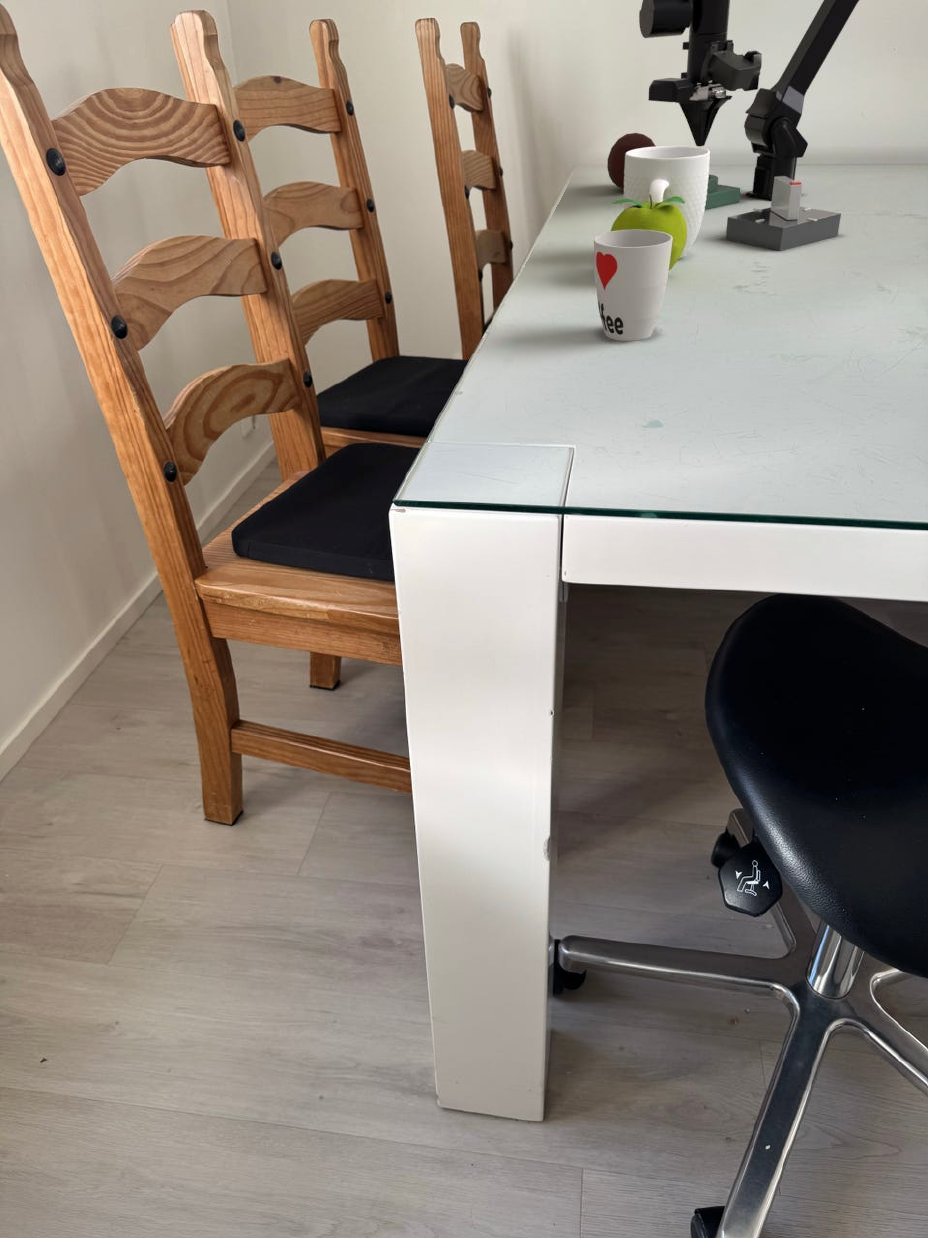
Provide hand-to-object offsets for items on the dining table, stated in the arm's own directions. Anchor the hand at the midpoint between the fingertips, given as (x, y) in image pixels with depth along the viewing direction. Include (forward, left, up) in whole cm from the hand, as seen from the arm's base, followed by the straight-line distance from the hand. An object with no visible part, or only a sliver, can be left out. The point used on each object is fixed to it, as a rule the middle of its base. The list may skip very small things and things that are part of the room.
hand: (700, 145), depth 156 cm
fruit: (+37, +28, -9) cm, 47 cm away
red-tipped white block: (+9, +26, -6) cm, 28 cm away
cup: (+54, +44, -9) cm, 70 cm away
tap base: (+9, +26, -9) cm, 29 cm away
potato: (-1, -17, -9) cm, 19 cm away
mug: (+29, +22, -9) cm, 38 cm away
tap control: (0, 0, -9) cm, 9 cm away
